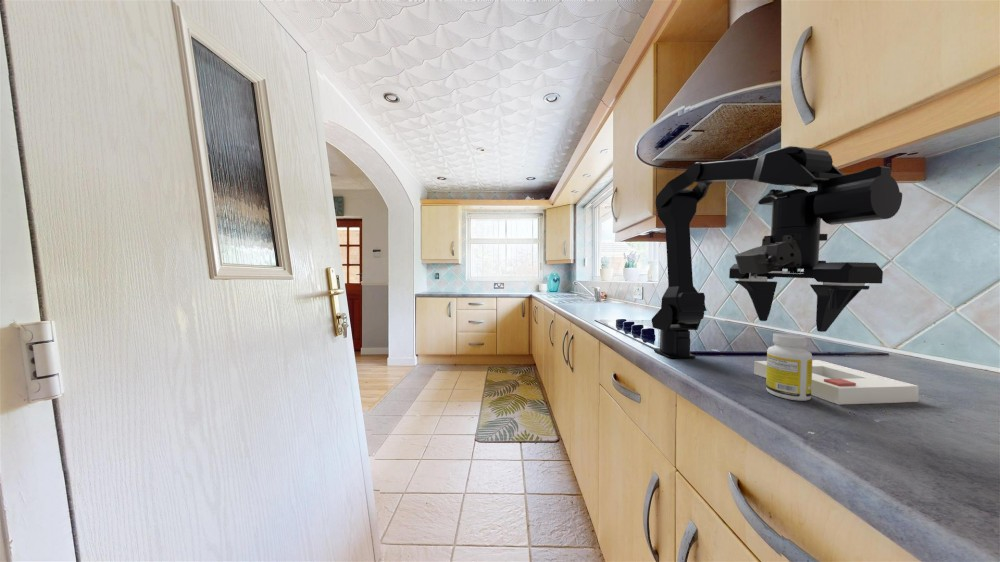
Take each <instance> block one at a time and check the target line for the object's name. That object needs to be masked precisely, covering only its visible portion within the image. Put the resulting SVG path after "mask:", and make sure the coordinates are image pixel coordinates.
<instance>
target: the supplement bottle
mask: <svg viewBox="0 0 1000 562" xmlns="http://www.w3.org/2000/svg"><path fill="white" fill-rule="evenodd" d="M807 339H808V338H807V336H806V335H805V336H804V335H801V334H795V333H786V332H785V333H783V332H774V333H773V334H772V343H773V344H774V345H771V346H769V347H768V348H767V350H766V361H767V374H766V378H765V379H766V381H765V383H766V384H765V389H766V391H767V392H768V393H770V394H771V395H773V396H775V397H779V398H782V399H786V400H789V401H790V400H792V401H799V402H800V401H801V402H803V401H805V402H806V401H809V400H811V398H812V395H811V385H812V360H813V355H812V353H811V352H810V351H809V350H807V349H805V347H806V346H807V343H808V340H807Z"/></svg>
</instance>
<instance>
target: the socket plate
mask: <svg viewBox="0 0 1000 562" xmlns="http://www.w3.org/2000/svg"><path fill="white" fill-rule="evenodd" d="M753 367H754V368H753V369H754V370H753V374H754V375H756V376H759V377H761V378H765V379H766V374H767V360H754V364H753ZM919 390H920V386H919V385H916V384H912V383H908V382H905V381H901V380H897V379H892V378H889V377H885V376H881V375H879V374H874V373H871V372H870V373H869V372H866V371H862V370H859V369H855V368H850V367H846V366H843V365H840V364H835V363H832V362H827V361H824V360H820V359H812V385H811V396H814V397H817V398H819V399H822V400H823V401H826V402H830V403H833V404H835V405H840V406H841V405H861V404H862V405H863V404H865V405H866V404H868V405H869V404H893V403H896V404H898V403H918V402H919Z"/></svg>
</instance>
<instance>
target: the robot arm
mask: <svg viewBox="0 0 1000 562" xmlns="http://www.w3.org/2000/svg"><path fill="white" fill-rule="evenodd" d="M833 162H834V161H833V158H832V155H831V153H829V151H827V150H824V149H818V148H809V147H800V146H794V145H792V146H784V147H781V148H777V149H774V150H771V151H767V152H766V153H764V154H762V155H759V156H756V157H753V158H742V159H732V160H730V159H729V160H720V161H708V162H702V161H698V162H694V163H691V164H690V165H689V166H688V167H687V169H686V170H685V171H684V172H682V173H681V174H679V175H677V176H676V177H674V178H673V179H671V180H669V181H668V182H667V183H666V184H665V186H663V188H662V189H661V190H660V191H659V192H658V194H657V195H656V197H655V209H656V214H657V217H658V218H659V220H660V221H661V222H662V224H663V226H664V227H665V245H666V246H665V248H666V265H667V279H668V280H667V283H668V284H667V285H668V286H667V288H666V290H665V291H664V293H663V296H662V297H661V304H660V305H661V307H660V309H659V310H658V312H656V313H655V314H654V315H653V317H652V318H651V323H652V325H651V326H652V328H653V329H656V330H660V334H659V335H660V336H659V348H654V349H653V352H655V353H657V354H660V355H662V356H664V357H666V358H670V359H694V358H696V357H697V356H696V355H695V354H692V353H691V331H698V330H699V327H700V325H701V321H702V320H703V319H704V317H705V312H706V311H708V310H707V308H706V303H705V301H706V295H705V293H704V292H698V290H697V289H696V287H695V286H694V282H693V281H694V279H693V263H692V261H693V260H692V247H691V246H692V245H691V244H692V243H691V242H692V241H691V225H690V224H691V222H692V221H693V219H694V218H695V215H696V213H697V208H698V207H697V206H698V204H699V202H700V201H702V200H703V199H704V198H705V197H706V195H707V194H708V193H707V192H708V190H709V187H710V185H711V184H713V183H714V182H719V183H721V182H758V183H764V184H768V185H769V184H770V185H774V186H775V185H776V186H783V187H785V186H787V187H795V188H796V187H798V188H796V189H792V190H787V191H783V190H782V189H770V190H769V192H767V194H766V195H764V196H763V197H762V198H761V199H759V200H758V204H759V205H762V206H771V208H772V209H771V227H770V235H764V236H763V238H762V241H761V245H760V246H756V247H753V248H751V249H750V248H749V249H748V250H744V251H742V252H740V253H737V254H735V255H734V258H735V261H736V263H733V264H732V266H731V267H729V274H728V278H729V279H732V280H733V279H735V280H734V283H735V284H737V285H738V284H739V285H740V286H742V287H743V288H744V289H745V290H746V292H747V293H748V295H749V297H750V299H751V302H752V304H753V308H754V310H755V312H756V315H757V318H758V320H759V322H767V321H768V320H769V319H768V318H769V317H770V313H771V308H772V305H773V301H774V297H775V293H776V288H777V287H778V286H777V285H778V281H773V279H774V278H787V279H789V278H790V279H791V278H794V279H814V280H815V281H816V282H817V283H822V284H817V283H815V284H813V283H812V284H809V285H810V287H811V289H812V290H813V292H814V293H815V295H816V315H815V316H816V317H815V324H816V331H817V332H819V333H820V332H821V333H822V332H823V333H824V332H825V333H826V332H827V331H828V330H829V328H831V326H832V325H833V323H834V322H835V321H836V319H838V317H839V315H840V314H841V313H842V311H843V310H844V309H845V308H846V306H847V305H848V304H849V303H851V301H852V300H853V299H854V298H855V297H857V295H858V294H859V293H860V292H861V291H863V290H869V289H870V285H865V284H883V276H884V275H883V274H884V271H883V269H882V268H881V267H880V266H879V265H878V264H877V262H861V261H860V262H859V261H858V262H852V261H851V262H850V261H847V262H843V261H841V262H840V261H839V262H835V261H834V262H831V261H830V262H827V260H819V257H820V255H819V254H820V243H821V242H824V241H825V242H826V241H828V233H821V224H822V221H823V222H824V223H825V224H827V225H831V226H833V225H841V224H853V223H860V222H871V221H881V220H888V219H889V220H890V219H891V218H893V217H895V216H896V215H897V213H898V212H899V210H900V208H901V205H902V201H903V192H901V191H900V187H899V185H898V182H897V181H896V179H895V178H894V177H893V176H891V175H892V168H891V167H889V166H884V165H883V166H881V165H879V166H878V165H876V166H872V167H869V168H866V169H864V170H861V171H857V172H854V173H848V174H844V173H843V172H842V171H840V170H839V168H838V167H836V166H835V165H834V164H833ZM694 183H697V184H696V185H695V186H694V187H693V188H688V187H690V186H692V185H693V184H694ZM804 188H815V189H816V190H813V191H807V190H806V189H804ZM821 220H822V221H821ZM799 269H800V270H803V271H799ZM784 270H785V271H784ZM736 279H737V280H736ZM771 280H772V281H771Z"/></svg>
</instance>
